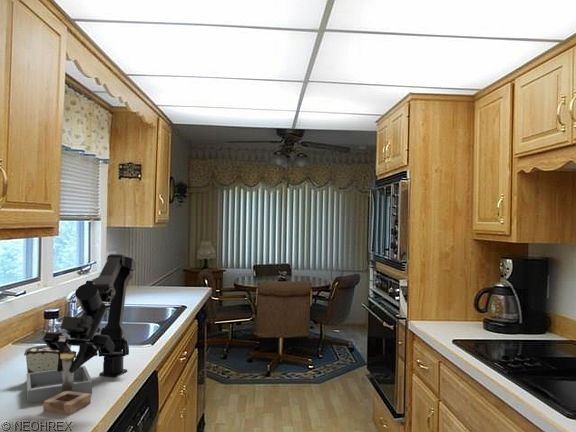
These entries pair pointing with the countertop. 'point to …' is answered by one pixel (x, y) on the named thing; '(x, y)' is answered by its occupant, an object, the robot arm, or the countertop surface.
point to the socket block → (67, 402)
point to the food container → (41, 359)
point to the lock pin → (67, 370)
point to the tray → (52, 391)
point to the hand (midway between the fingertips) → (64, 371)
